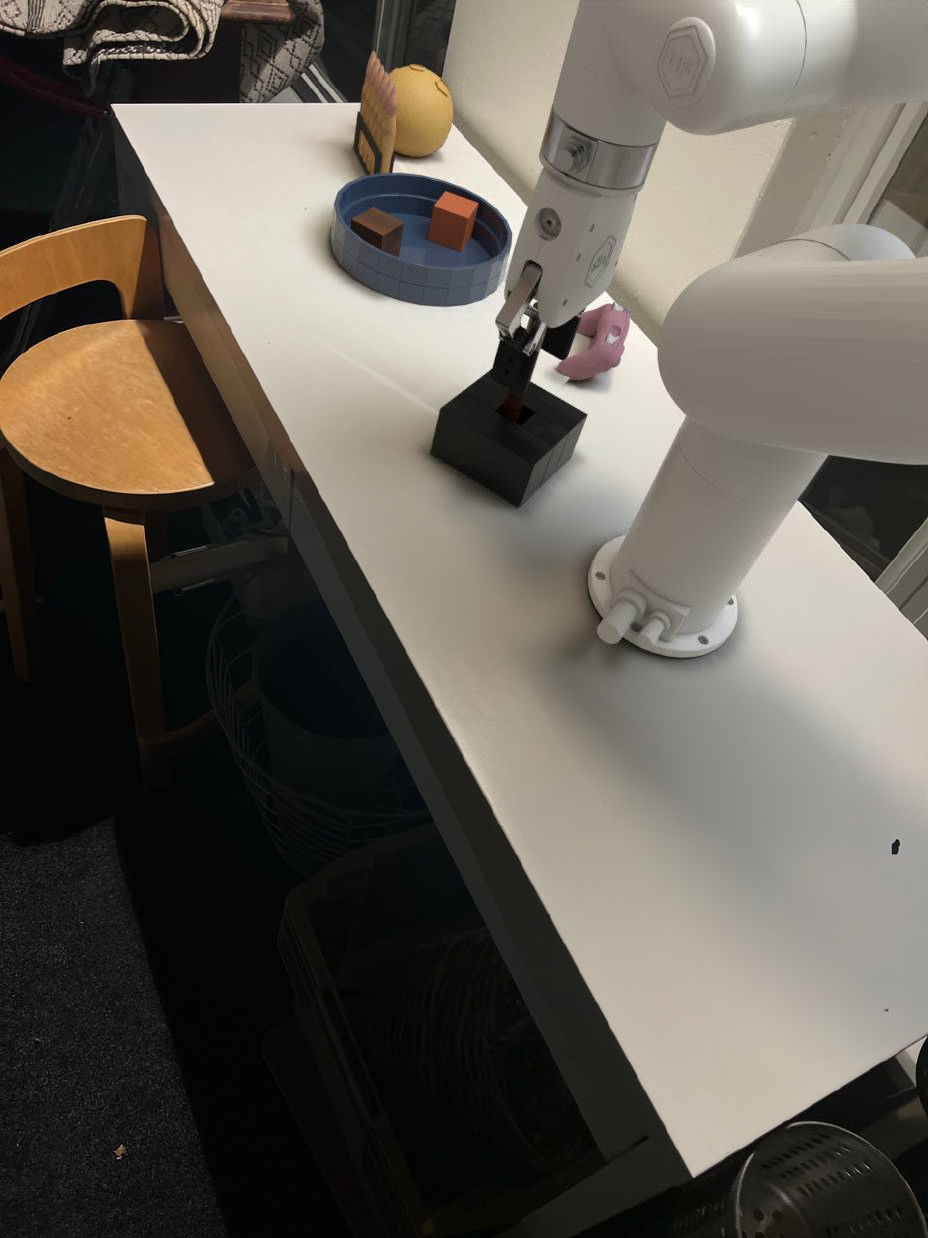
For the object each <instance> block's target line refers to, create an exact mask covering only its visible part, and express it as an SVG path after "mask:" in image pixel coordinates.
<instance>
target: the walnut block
mask: <svg viewBox="0 0 928 1238" xmlns="http://www.w3.org/2000/svg"><path fill="white" fill-rule="evenodd" d="M350 229H351V230H352V231H353V232H354V233H356V234H357V235H358V236H359V237H360V238H361V239H363V240H364V241H365V242H367V243H369V244H371V245H373V246H374V247H376V248H378V249H380V250H381V251H383V252H386V253H388V254H391V255H394V256H396V257H399V254H400V247H401V241H402V235H403V229H404V222H402V221H400V220H398V219H396V218H394V217H392V216H390V215H388V214H386V213H384V212H383V211H381V210H379V209H377V208H375V207H372V208H370V209H369V210H367V211H365V212H363V213H361V214H359V215H358V216H356V217H354V218H352V219H351V227H350Z"/></svg>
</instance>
